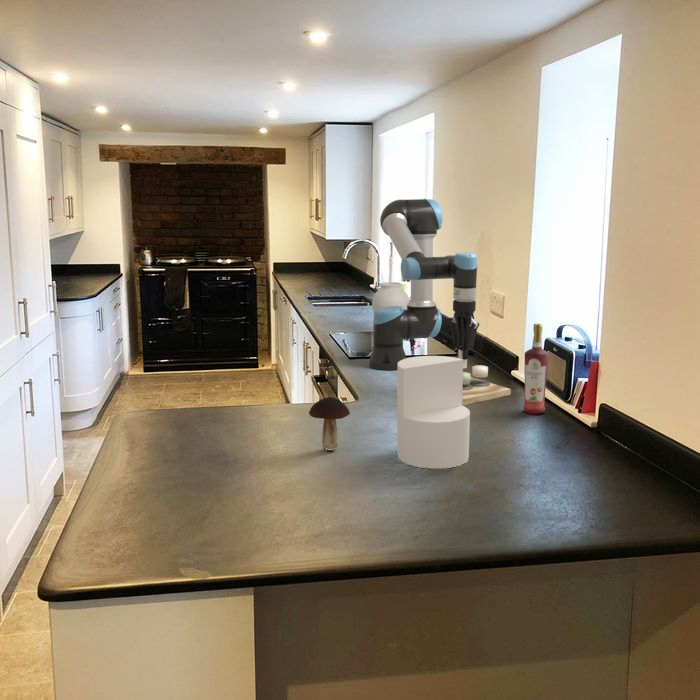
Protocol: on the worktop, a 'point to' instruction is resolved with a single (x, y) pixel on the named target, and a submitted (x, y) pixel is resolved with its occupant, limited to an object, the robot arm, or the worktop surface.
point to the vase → (390, 296)
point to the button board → (482, 391)
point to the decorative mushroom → (329, 418)
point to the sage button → (466, 378)
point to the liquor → (535, 374)
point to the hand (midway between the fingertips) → (462, 367)
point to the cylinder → (432, 412)
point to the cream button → (479, 371)
